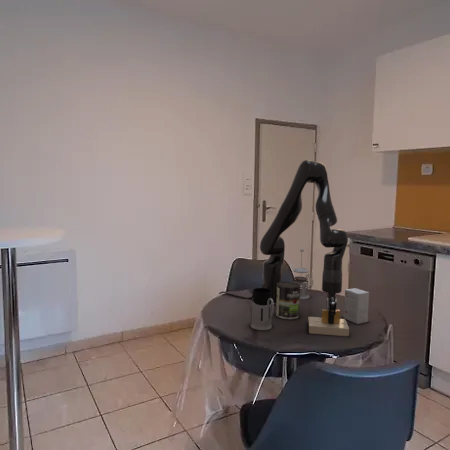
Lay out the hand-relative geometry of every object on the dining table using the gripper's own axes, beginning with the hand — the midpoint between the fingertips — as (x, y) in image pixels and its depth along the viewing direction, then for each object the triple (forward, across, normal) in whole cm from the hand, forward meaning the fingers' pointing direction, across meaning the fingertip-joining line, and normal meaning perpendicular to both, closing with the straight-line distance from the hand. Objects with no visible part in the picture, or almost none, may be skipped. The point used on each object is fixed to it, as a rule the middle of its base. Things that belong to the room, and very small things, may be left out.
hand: (330, 321), depth 152 cm
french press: (+4, -46, -10) cm, 47 cm away
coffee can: (+4, -14, -17) cm, 22 cm away
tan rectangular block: (0, 0, 0) cm, 0 cm away
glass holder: (+4, +4, -26) cm, 27 cm away
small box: (+4, -14, +12) cm, 19 cm away
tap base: (+3, 0, -1) cm, 3 cm away
